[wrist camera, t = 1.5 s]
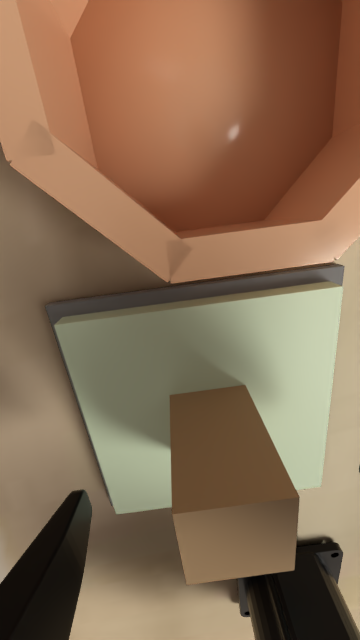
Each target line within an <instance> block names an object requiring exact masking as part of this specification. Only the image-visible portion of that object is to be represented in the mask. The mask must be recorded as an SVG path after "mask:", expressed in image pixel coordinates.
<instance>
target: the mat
mask: <svg viewBox="0 0 360 640" xmlns="http://www.w3.org/2000/svg"><path fill="white" fill-rule="evenodd" d="M343 274H344V266H343V265H339V264H335V265H328V266H320V267H313V268H305V269H298V270H290V271H283V272H275V273H268V274H261V275H253V276H246V277H238V278H231V279H223V280H216V281H208V282H201V283H193V284H186V285H179V286H171V287H164V288H156V289H149V290H141V291H134V292H126V293H119V294H111V295H104V296H97V297H89V298H82V299H74V300H67V301H59V302H52V303H49V304H47V305H46V306H45V308H46V311H47V314H48V317H49V320H50V323H51V326H52V329H53V332H54V335H55V338H56V341H57V344H58V347H59V350H60V353H61V356H62V359H63V362H64V365H65V368H66V371H67V374H68V377H69V380H70V383H71V386H72V389H73V392H74V395H75V398H76V401H77V404H78V407H79V410H80V413H81V416H82V419H83V422H84V425H85V428H86V431H87V434H88V437H89V440H90V443H91V446H92V449H93V452H94V455H95V458H96V461H97V464H98V467H99V470H100V473H101V476H102V479H103V482H104V485H105V488H106V491H107V494H108V497H109V500H110V503H111V506H113V503H112V500H111V497H110V494H109V491H108V488H107V485H106V482H105V479H104V476H103V473H102V470H101V467H100V464H99V461H98V458H97V455H96V452H95V448H94V445H93V442H92V439H91V436H90V433H89V430H88V427H87V424H86V421H85V418H84V415H83V412H82V409H81V406H80V403H79V400H78V397H77V394H76V391H75V388H74V385H73V382H72V379H71V376H70V373H69V370H68V367H67V364H66V361H65V357H64V354H63V351H62V348H61V345H60V342H59V339H58V336H57V333H56V330H55V327H54V325H55V324H56V323H57V322H58V321H59V320H60V319H61V318H62V317H66V316H74V315H81V314H89V313H96V312H104V311H111V310H119V309H126V308H133V307H141V306H148V305H156V304H163V303H171V302H178V301H186V300H193V299H200V298H208V297H215V296H223V295H230V294H238V293H245V292H253V291H260V290H267V289H275V288H282V287H290V286H297V285H305V284H312V283H320V282H327V281H331V282H333V283H336V284H339V285H341V286H342V283H343Z"/></svg>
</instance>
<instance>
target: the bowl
mask: <svg viewBox="0 0 360 640" xmlns="http://www.w3.org/2000/svg"><path fill="white" fill-rule="evenodd" d="M0 142H1V145H2V148H3V152H4V155H5V158H6V161H8V162H11V163H10V166H11V167H13V168H14V169H15V170H17V171H18V172H19V173H21V174H22V175H23V176H25V177H26V178H27V179H29V180H30V181H31V182H33V183H34V184H35V185H37V186H38V187H39V188H41V189H42V190H43V191H45V192H46V193H47V194H49V195H50V196H51V197H53V198H54V199H56V200H57V201H58V202H60V203H61V204H62V205H64V206H65V207H66V208H68V209H69V210H70V211H72V212H73V213H74V214H76V215H77V216H78V217H80V218H81V219H82V220H84V221H85V222H86V223H88V224H89V225H90V226H92V227H93V228H94V229H96V230H97V231H99V232H100V233H101V234H103V235H104V236H105V237H107V238H108V239H109V240H111V241H112V242H113V243H115V244H116V245H117V246H119V247H120V248H121V249H123V250H124V251H125V252H127V253H128V254H129V255H131V256H132V257H133V258H135V259H136V260H137V261H139V262H140V263H142V264H143V265H144V266H146V267H147V268H148V269H150V270H151V271H152V272H154V273H155V274H156V275H158V276H159V277H160V278H162V279H163V280H164V281H166V282H167V283H168V281H169V280H171V284H172V283H179V282H187V281H194V280H202V279H209V278H216V277H224V276H231V275H239V274H246V273H254V272H261V271H269V270H276V269H284V268H291V267H299V266H306V265H313V264H321V263H328V262H334V259H335V260H338V258H339V257H340V256H341V255H342V254H343V253H344V252H345V251H346V250H347V249H348V248H349V247H350V246H351V245H352V244H353V243H354V242H355V241H356V240H357V239H358V238H359V236H360V0H0Z"/></svg>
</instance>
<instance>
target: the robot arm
mask: <svg viewBox="0 0 360 640" xmlns="http://www.w3.org/2000/svg"><path fill="white" fill-rule="evenodd" d="M359 472H360V466H359ZM91 517H92V506H91V503H90V500H89V497H88V495H87V492H86V491H85V490H76V491H72V492H71V493H70V494H69V495H68V497H67V498H66V499H65V501H64V502H63V503H62V504H61V506H60V507H59V508H58V510H57V511H56V512H55V514H54V515H53V516H52V517H51V519H50V520H49V521H48V523H47V524H46V525H45V527H44V528H43V529H42V530H41V532H40V533H39V534H38V536H37V537H36V538H35V539H34V541H33V542H32V543H31V545H30V546H29V547H28V549H27V550H26V551H25V552H24V554H23V555H22V556H21V558H20V559H19V560H18V562H17V563H16V564H15V565H14V567H13V568H12V569H11V571H10V572H9V573H8V575H7V576H6V577H5V578H4V580H3V581H2V582H1V584H0V640H69V636H70V632H71V627H72V623H73V619H74V614H75V610H76V605H77V601H78V597H79V592H80V588H81V583H82V578H83V573H84V567H85V560H86V553H87V546H88V538H89V531H90V524H91ZM342 557H343V552H342V550H341V548H340V546H339V544H338V543H335V542H332V543H324V544H317V545H310V546H302V547H296V555H295V569H294V570H293V571H286V572H278V573H271V574H264V575H257V576H249V577H242V578H237V585H238V598H239V608H240V614H241V616H243V617H251V622H252V626H253V631H254V636H255V640H360V632H359V630H358V628H357V626H356V624H355V622H354V620H353V617H352V615H351V613H350V611H349V609H348V607H347V605H346V603H345V600H344V598H343V596H342V594H341V592H340V590H339V588H338V585H337V584H338V579H339V573H340V568H341V562H342Z"/></svg>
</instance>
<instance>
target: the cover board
mask: <svg viewBox="0 0 360 640" xmlns="http://www.w3.org/2000/svg"><path fill="white" fill-rule="evenodd" d="M342 294H343V286H341V285H339V284H336V283H333V282H331V281H327V282H320V283H312V284H305V285H297V286H290V287H282V288H275V289H267V290H260V291H253V292H245V293H238V294H230V295H223V296H215V297H208V298H200V299H193V300H186V301H178V302H171V303H163V304H156V305H148V306H141V307H133V308H126V309H119V310H111V311H104V312H96V313H89V314H81V315H74V316H66V317H62V318H61V319H60V320H59V321H58V322H57V323H56V324H55V325H54V327H55V330H56V333H57V336H58V339H59V342H60V345H61V348H62V351H63V354H64V357H65V361H66V364H67V367H68V370H69V373H70V376H71V379H72V382H73V385H74V388H75V391H76V394H77V397H78V400H79V403H80V406H81V409H82V412H83V415H84V418H85V421H86V424H87V427H88V430H89V433H90V436H91V439H92V442H93V445H94V448H95V452H96V455H97V458H98V461H99V464H100V467H101V470H102V473H103V476H104V479H105V482H106V485H107V488H108V491H109V494H110V497H111V500H112V503H113V506H114V509H115V512H116V515H117V514H124V513H132V512H139V511H146V510H154V509H161V508H168V507H172V517H173V522H174V527H175V532H176V536H177V541H178V546H179V551H180V556H181V560H182V565H183V570H184V575H185V580H186V585H191V584H198V583H205V582H213V581H220V580H227V579H235V578H242V577H249V576H257V575H264V574H271V573H278V572H286V571H293V570H294V569H295V555H296V540H297V525H298V511H299V495H298V493H297V491H296V490H301V489H308V488H315V487H321V483H322V474H323V465H324V456H325V447H326V438H327V429H328V420H329V411H330V402H331V393H332V384H333V375H334V366H335V357H336V348H337V339H338V330H339V321H340V312H341V303H342Z"/></svg>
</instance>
